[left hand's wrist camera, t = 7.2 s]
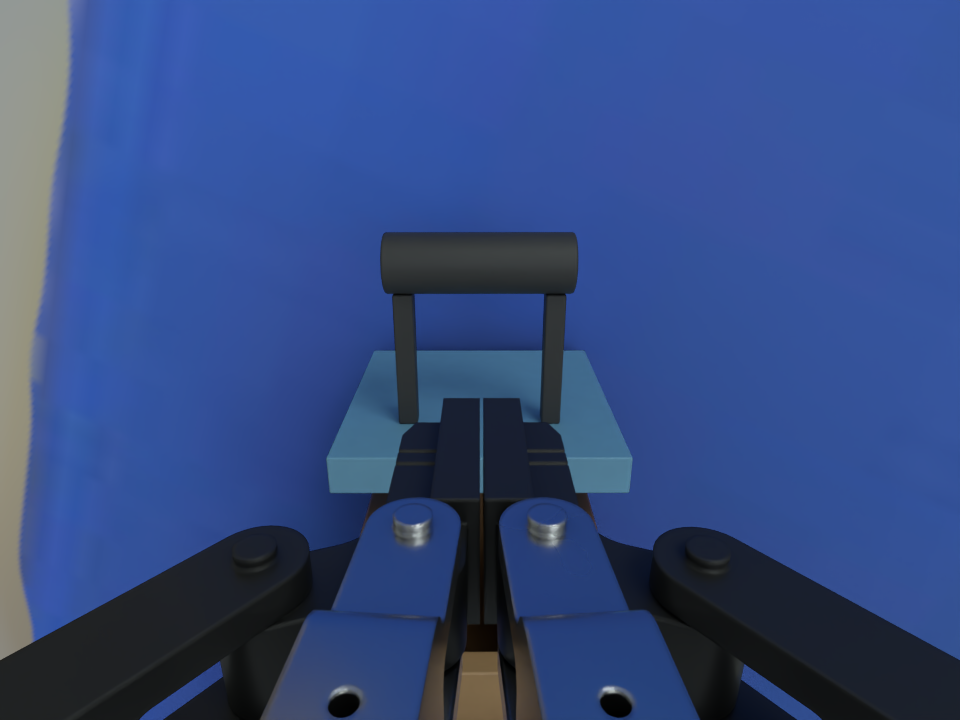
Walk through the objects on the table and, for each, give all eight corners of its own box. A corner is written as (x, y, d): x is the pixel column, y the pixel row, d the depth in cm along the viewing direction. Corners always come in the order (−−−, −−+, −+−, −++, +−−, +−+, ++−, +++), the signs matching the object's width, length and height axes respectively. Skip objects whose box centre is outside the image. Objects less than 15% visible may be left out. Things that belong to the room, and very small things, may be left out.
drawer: (364, 203, 24) (304, 249, 16) (594, 203, 24) (654, 249, 16) (397, 700, 33) (370, 890, 25) (562, 699, 33) (589, 890, 25)
